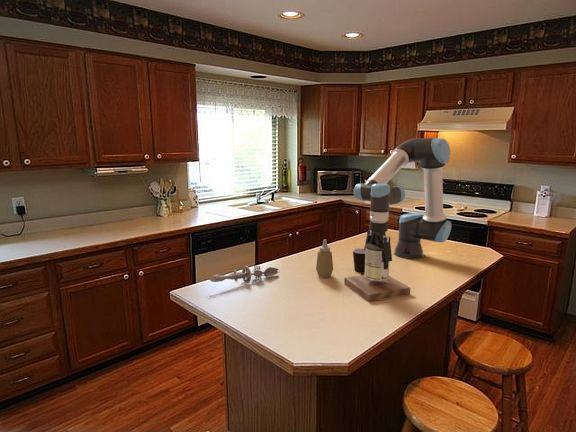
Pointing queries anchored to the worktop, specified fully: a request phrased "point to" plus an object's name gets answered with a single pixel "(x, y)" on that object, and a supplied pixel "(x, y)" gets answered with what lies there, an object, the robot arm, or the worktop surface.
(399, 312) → the worktop surface
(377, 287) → the walnut block
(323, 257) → the squeeze bottle
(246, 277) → the spaceship
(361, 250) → the coffee mug
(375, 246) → the coffee can
